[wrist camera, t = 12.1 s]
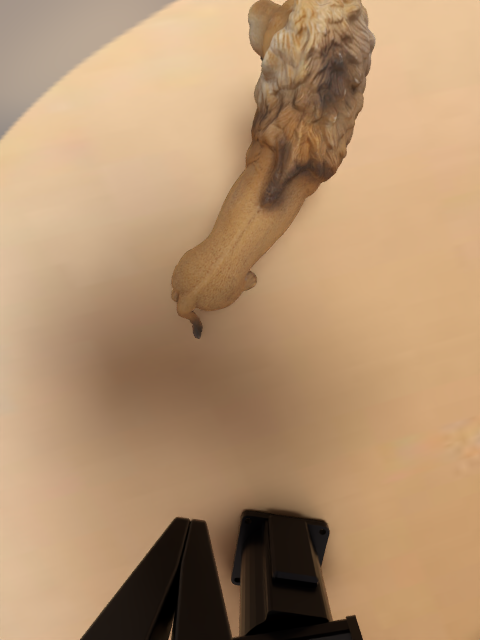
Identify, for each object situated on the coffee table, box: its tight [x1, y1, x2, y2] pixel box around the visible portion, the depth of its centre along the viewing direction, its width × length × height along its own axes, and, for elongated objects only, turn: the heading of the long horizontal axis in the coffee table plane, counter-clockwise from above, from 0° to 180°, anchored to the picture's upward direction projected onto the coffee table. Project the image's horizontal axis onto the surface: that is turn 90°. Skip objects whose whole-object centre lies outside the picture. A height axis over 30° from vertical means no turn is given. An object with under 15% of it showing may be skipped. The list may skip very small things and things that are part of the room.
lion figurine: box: [171, 0, 375, 339], centre depth 14 cm, size 15×5×9 cm, turn 156°
